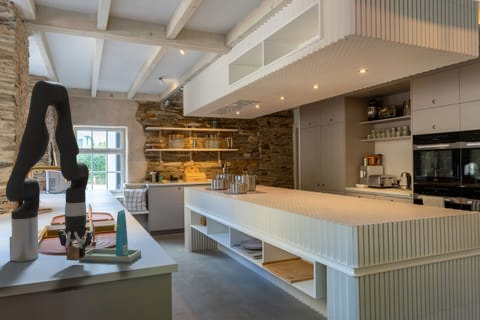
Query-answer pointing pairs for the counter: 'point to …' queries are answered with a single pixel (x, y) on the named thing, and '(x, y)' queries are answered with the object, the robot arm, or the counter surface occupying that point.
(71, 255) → the walnut block
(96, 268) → the counter surface
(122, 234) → the tube
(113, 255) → the tray
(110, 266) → the counter surface
